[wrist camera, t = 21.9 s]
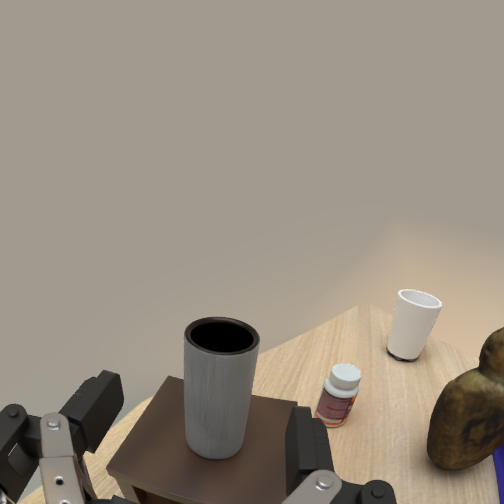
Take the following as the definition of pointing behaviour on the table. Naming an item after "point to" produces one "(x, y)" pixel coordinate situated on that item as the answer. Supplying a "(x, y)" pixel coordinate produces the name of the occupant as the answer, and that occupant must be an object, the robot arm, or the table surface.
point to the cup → (412, 323)
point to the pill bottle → (338, 395)
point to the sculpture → (470, 412)
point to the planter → (218, 384)
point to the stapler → (500, 470)
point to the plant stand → (197, 467)
